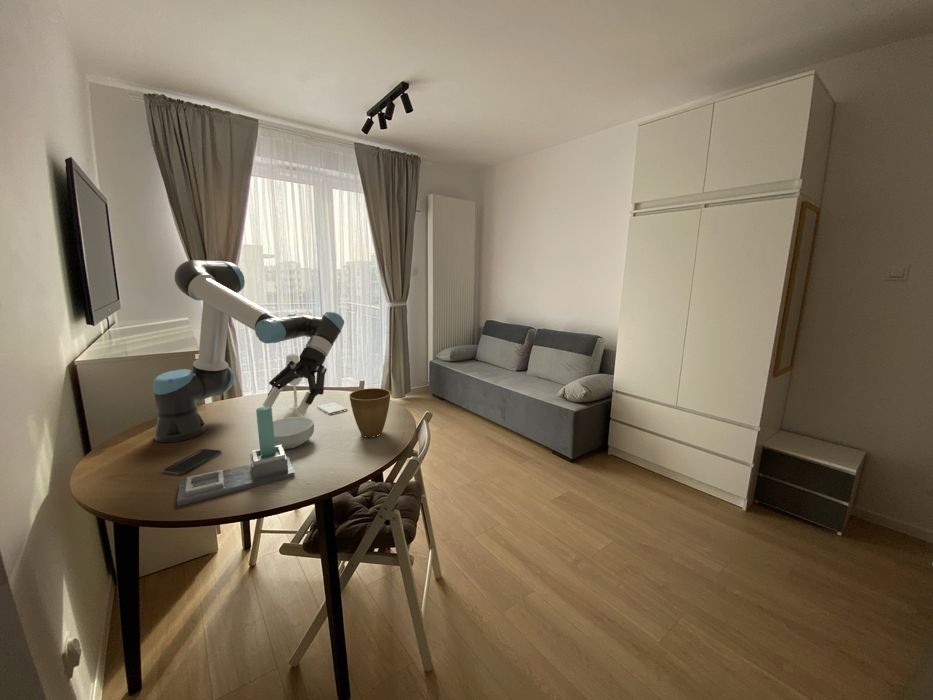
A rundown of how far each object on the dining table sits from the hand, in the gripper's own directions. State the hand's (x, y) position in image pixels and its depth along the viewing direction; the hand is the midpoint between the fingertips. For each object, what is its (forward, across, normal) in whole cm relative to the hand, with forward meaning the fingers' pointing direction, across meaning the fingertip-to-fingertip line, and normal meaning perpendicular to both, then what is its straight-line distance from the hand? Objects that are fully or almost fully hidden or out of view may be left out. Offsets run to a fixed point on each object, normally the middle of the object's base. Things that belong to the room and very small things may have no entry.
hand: (282, 410), depth 115 cm
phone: (+20, +29, -6) cm, 36 cm away
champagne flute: (-16, +39, -43) cm, 61 cm away
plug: (+13, +1, -5) cm, 14 cm away
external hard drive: (-19, +22, -46) cm, 55 cm away
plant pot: (-8, -10, -35) cm, 37 cm away
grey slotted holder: (+22, +6, -4) cm, 23 cm away
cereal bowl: (+5, +12, -22) cm, 25 cm away
